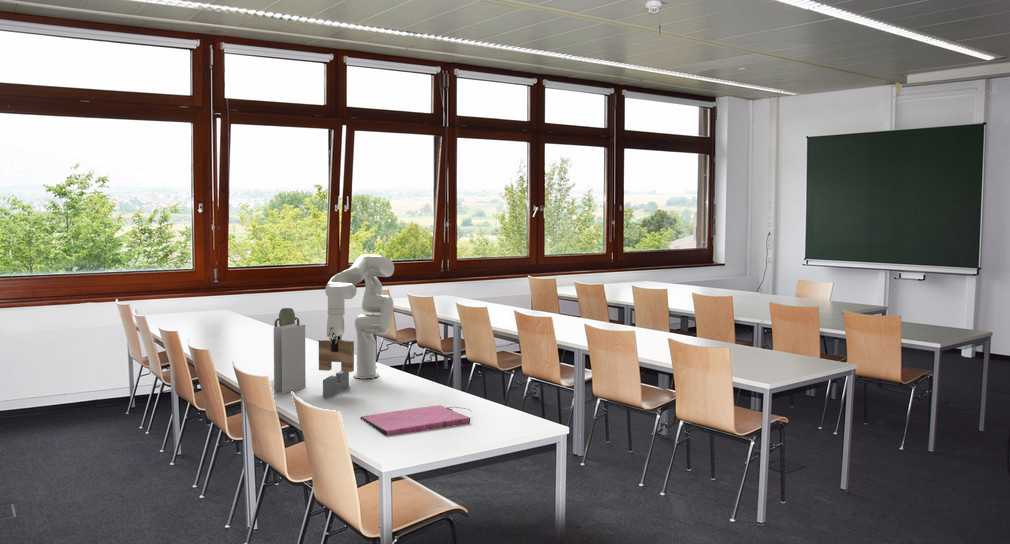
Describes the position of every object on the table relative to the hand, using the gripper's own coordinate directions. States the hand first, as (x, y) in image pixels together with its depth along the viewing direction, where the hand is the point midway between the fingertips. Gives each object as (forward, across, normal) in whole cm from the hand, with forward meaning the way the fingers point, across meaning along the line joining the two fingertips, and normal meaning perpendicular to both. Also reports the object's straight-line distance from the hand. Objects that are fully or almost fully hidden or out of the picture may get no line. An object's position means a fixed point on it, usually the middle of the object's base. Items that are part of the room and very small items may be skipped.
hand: (336, 350), depth 346 cm
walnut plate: (+9, 0, 0) cm, 9 cm away
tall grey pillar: (+19, +2, -22) cm, 29 cm away
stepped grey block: (+19, 0, 0) cm, 19 cm away
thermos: (+19, -19, -34) cm, 43 cm away
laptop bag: (+20, +37, +51) cm, 66 cm away
